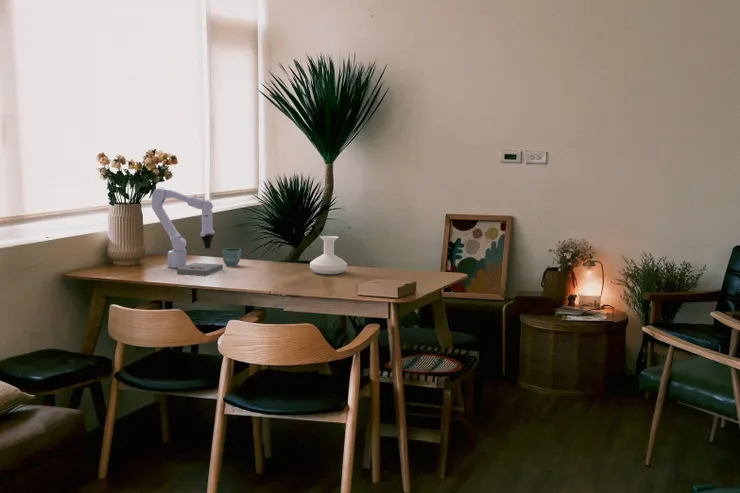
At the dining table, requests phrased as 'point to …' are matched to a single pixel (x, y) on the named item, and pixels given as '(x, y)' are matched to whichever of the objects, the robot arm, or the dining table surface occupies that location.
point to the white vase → (328, 259)
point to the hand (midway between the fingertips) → (207, 248)
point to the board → (204, 269)
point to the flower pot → (231, 256)
